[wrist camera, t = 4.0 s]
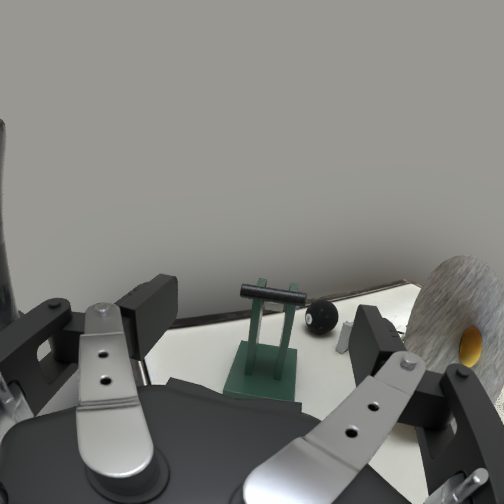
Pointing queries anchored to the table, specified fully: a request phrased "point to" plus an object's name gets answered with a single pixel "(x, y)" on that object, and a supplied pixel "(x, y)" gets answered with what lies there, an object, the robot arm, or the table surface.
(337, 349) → the grey tape dispenser
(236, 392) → the switch bracket
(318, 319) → the billiard ball
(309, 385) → the table surface
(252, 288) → the switch lever
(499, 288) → the upside-down potted plant
